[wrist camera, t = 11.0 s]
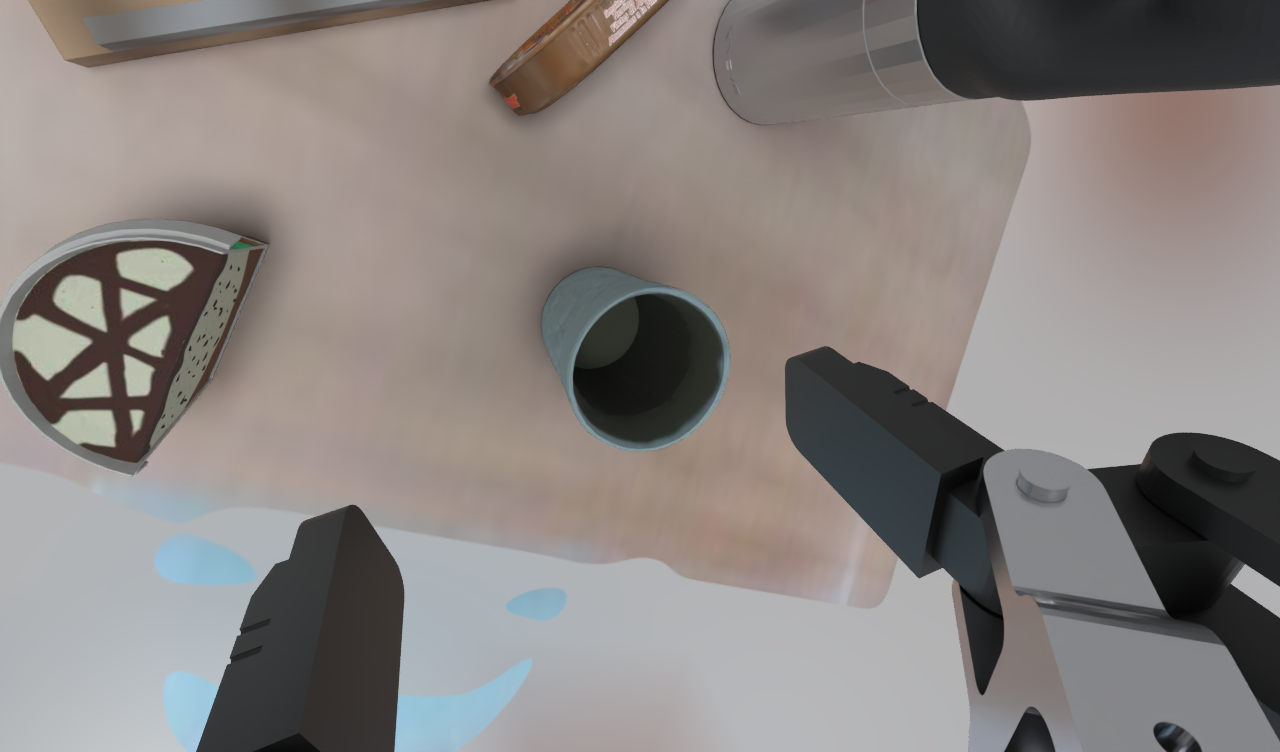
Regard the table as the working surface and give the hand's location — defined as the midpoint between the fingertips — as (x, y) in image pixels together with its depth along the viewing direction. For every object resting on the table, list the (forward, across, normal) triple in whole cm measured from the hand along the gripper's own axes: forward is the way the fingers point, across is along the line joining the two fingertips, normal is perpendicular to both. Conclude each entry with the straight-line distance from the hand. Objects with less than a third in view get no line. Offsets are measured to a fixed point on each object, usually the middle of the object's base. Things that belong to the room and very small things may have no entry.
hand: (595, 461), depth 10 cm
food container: (+28, +18, +2) cm, 34 cm away
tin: (+32, -9, -7) cm, 34 cm away
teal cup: (+29, -5, +12) cm, 31 cm away
